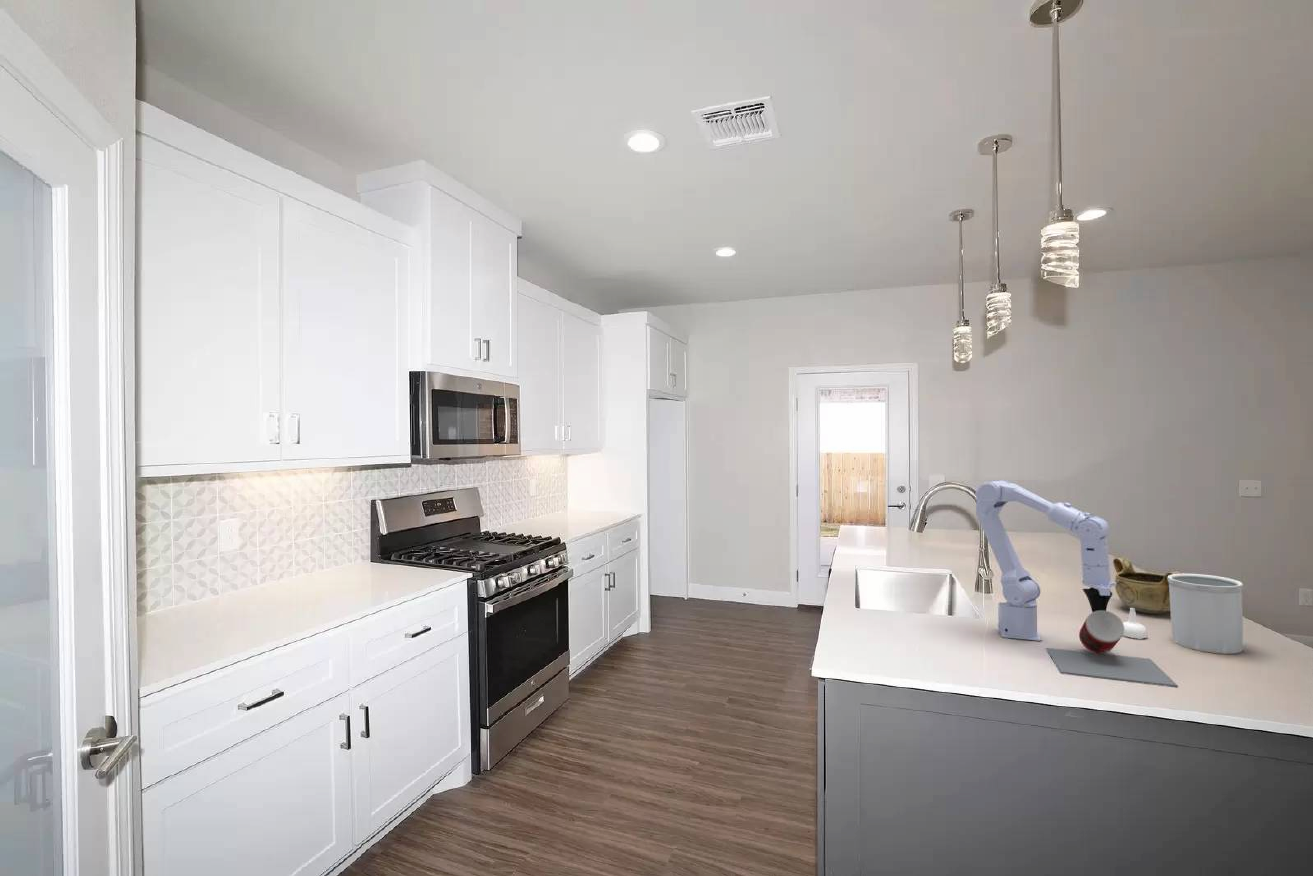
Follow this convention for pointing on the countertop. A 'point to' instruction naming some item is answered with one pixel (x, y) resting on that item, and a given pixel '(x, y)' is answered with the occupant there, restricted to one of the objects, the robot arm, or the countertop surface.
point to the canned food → (1101, 631)
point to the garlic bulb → (1134, 627)
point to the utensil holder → (1206, 612)
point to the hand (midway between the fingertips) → (1099, 617)
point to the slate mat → (1109, 666)
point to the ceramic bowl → (1142, 588)
